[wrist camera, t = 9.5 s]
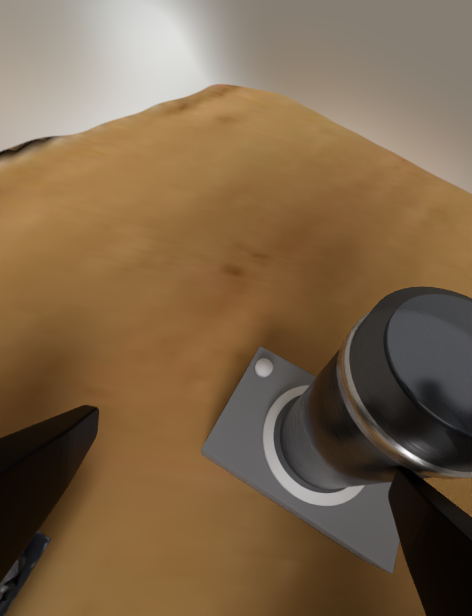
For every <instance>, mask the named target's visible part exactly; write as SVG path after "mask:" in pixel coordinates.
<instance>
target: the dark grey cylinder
mask: <svg viewBox="0 0 472 616" xmlns="http://www.w3.org/2000/svg"><path fill="white" fill-rule="evenodd" d="M280 445H281V450H282V453H283V456H284V458H285V460H286V462H287V464H288V466H289V467H290V468H291V470H292V471H293V472H294V473H295V474H296V476H298V477H299V478H300V479H301V480H302V481H304V482H305V483H307V484H309V485H311V486H313V487H316V488H320V489H337V488H345V487H354V486H363V485H371V484H380V483H388V482H392V481H393V478H394V475H395V473H396V471H397V470H399V469H402V470H407V471H411V472H414V473H415V474H417V475H418V476H419V477H420V478H422V479H423V478H431V477H435V478H441V479H462V478H472V298H469V297H467V296H465V295H462V294H459V293H456V292H453V291H449V290H445V289H440V288H434V287H411V288H405V289H401V290H398V291H395V292H393V293H391V294H389V295H387V296H386V297H384V298H383V299H382V300H380V302H379V303H378V304H377V305H376V306H375V307H374V308H373V309H372V311H371V312H369V313H368V314H366V315H365V316H364V317H362V318H361V319H360V320H359V321H358V323H357V324H356V325H355V326H354V327H353V329H352V330H351V331H350V332H349V334H348V335H347V336H346V338H345V339H344V341H343V343H342V345H341V347H340V349H339V350H338V352H337V353H336V354H335V355H334V356H333V358H332V359H331V360H330V361H329V363H328V364H327V365H326V366H325V367H324V369H323V370H322V371H321V372H320V373H319V375H318V376H317V377H316V378H315V379H314V381H313V382H312V383H311V384H310V385H309V387H308V388H307V389H306V390H305V392H304V393H303V394H302V395H301V396H300V398H299V399H298V400H297V401H296V402H295V404H294V405H293V406H292V407H291V408H290V410H289V411H288V412H287V414H286V415H285V417H284V419H283V421H282V424H281V428H280Z"/></svg>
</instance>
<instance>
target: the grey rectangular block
mask: <svg viewBox="0 0 472 616" xmlns="http://www.w3.org/2000/svg"><path fill="white" fill-rule="evenodd" d="M315 378H316V376H314V375H312V374H311V373H309V372H307V371H305V370H303V369H301V368H300V367H298V366H296V365H294V364H292V363H290V362H288V361H287V360H285V359H283V358H281V357H279V356H277V355H276V354H274V353H272V352H270V351H268V350H266V349H265V348H263V347H261V346H260V347H259V349H258V351H257V353H256V354H255V356H254V358H253V359H252V361H251V363H250V365H249V366H248V368H247V370H246V372H245V373H244V375H243V377H242V379H241V380H240V382H239V384H238V386H237V387H236V389H235V391H234V393H233V394H232V396H231V398H230V400H229V401H228V403H227V405H226V407H225V408H224V410H223V412H222V414H221V415H220V417H219V419H218V421H217V422H216V424H215V426H214V428H213V429H212V431H211V433H210V435H209V436H208V438H207V440H206V442H205V443H204V445H203V447H202V449H201V451H202V455H203V456H205V457H206V458H208V459H209V460H211V461H213V462H214V463H216V464H217V465H219V466H220V467H222V468H223V469H225V470H226V471H228V472H229V473H231V474H232V475H234V476H235V477H237V478H238V479H240V480H242V481H243V482H245V483H246V484H248V485H249V486H251V487H252V488H254V489H255V490H257V491H258V492H260V493H261V494H263V495H264V496H266V497H267V498H269V499H271V500H272V501H274V502H275V503H277V504H278V505H280V506H281V507H283V508H284V509H286V510H287V511H289V512H290V513H292V514H293V515H295V516H296V517H298V518H300V519H301V520H303V521H304V522H306V523H307V524H309V525H310V526H312V527H313V528H315V529H316V530H318V531H319V532H321V533H322V534H324V535H325V536H327V537H329V538H330V539H332V540H333V541H335V542H336V543H338V544H339V545H341V546H342V547H344V548H345V549H347V550H348V551H350V552H351V553H353V554H354V555H356V556H358V557H359V558H361V559H362V560H364V561H366V562H368V563H370V564H372V565H374V566H376V567H379V568H381V569H383V570H385V571H387V572H389V573H391V574H393V570H394V565H395V560H396V555H397V550H398V545H399V540H400V539H399V536H398V532H397V529H396V525H395V521H394V518H393V514H392V511H391V507H390V504H389V500H388V491H389V488H390V486H391V483H392V482H388V483H380V484H371V485H363V486H354V487H345V488H337V489H320V488H316V487H313V486H311V485H309V484H307V483H305V482H304V481H302V480H301V479H300V478H299V477H298V476H296V474H295V473H294V472H293V471H292V470H291V468H290V467H289V466H288V464H287V462H286V460H285V458H284V456H283V453H282V450H281V445H280V428H281V424H282V421H283V419H284V417H285V415H286V414H287V412H288V411H289V410H290V408H291V407H292V406H293V405H294V404H295V402H296V401H297V400H298V399H299V398H300V396H301V395H302V394H303V393H304V392H305V390H306V389H307V388H308V387H309V385H310V384H311V383H312V382H313V381H314V379H315Z"/></svg>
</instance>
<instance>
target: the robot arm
mask: <svg viewBox="0 0 472 616" xmlns="http://www.w3.org/2000/svg"><path fill="white" fill-rule="evenodd" d="M98 418H99V409H98V408H97V407H94V406H89V405H83V406H80V407H78V408H75V409H73V410H70V411H68V412H65V413H63V414H60V415H58V416H55V417H53V418H50V419H47V420H45V421H42V422H40V423H37V424H35V425H32V426H30V427H27V428H25V429H22V430H20V431H17V432H15V433H12V434H10V435H7V436H5V437H2V438H0V583H1V582H2V580H3V579H4V578H5V576H6V575H7V573H8V572H9V570H10V569H11V568H12V566H13V565H14V563H15V562H16V560H17V559H18V558H19V556H20V555H21V553H22V552H23V550H24V549H25V548H26V546H27V545H28V543H29V542H30V541H31V539H32V538H33V536H34V535H35V533H36V532H37V531H38V529H39V528H40V526H41V525H42V523H43V522H44V521H45V519H46V518H47V516H48V515H49V513H50V512H51V511H52V509H53V508H54V506H55V505H56V503H57V502H58V501H59V499H60V498H61V496H62V495H63V493H64V492H65V490H66V489H67V487H68V485H69V484H70V482H71V480H72V479H73V477H74V475H75V473H76V472H77V470H78V468H79V466H80V464H81V463H82V461H83V459H84V457H85V456H86V454H87V452H88V450H89V449H90V447H91V445H92V443H93V442H94V440H95V438H96V435H97V430H98ZM388 500H389V504H390V507H391V511H392V514H393V518H394V521H395V525H396V529H397V532H398V536H399V539H400V543H401V546H402V550H403V553H404V556H405V559H406V562H407V565H408V568H409V571H410V573H411V576H412V579H413V581H414V584H415V587H416V589H417V592H418V595H419V597H420V600H421V603H422V605H423V608H424V610H425V613H426V616H472V517H471V516H469V515H468V514H467V513H465V512H464V511H463V510H462V509H460V508H459V507H458V506H456V505H455V504H454V503H453V502H451V501H450V500H449V499H447V498H446V497H445V496H444V495H442V494H441V493H440V492H438V491H437V490H436V489H435V488H433V487H432V486H431V485H429V484H428V483H427V482H426V481H424V480H423V479H422V478H420V477H419V476H418V475H417V474H415V473H414V472H411V471H407V470H402V469H399V470H397V471H396V473H395V475H394V478H393V481H392V483H391V486H390V488H389V491H388Z"/></svg>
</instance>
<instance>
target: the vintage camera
mask: <svg viewBox="0 0 472 616" xmlns="http://www.w3.org/2000/svg"><path fill="white" fill-rule="evenodd" d="M50 539H51V538H49V537H48V536H46V535H44V534H43V533H41V532H39V531H37V532H36V533H35V535H34V536H33V538H32V539H31V541H30V542H29V543H28V545H27V546H26V548H25V549H24V550H23V552H22V553H21V555H20V556H19V558H18V559H17V560H16V562H15V563H14V565H13V566H12V568H11V569H10V570H9V572H8V573H7V575H6V576H5V578H4V579H3V580H2V582H1V583H0V616H4V615H5V614H6V612H7V610H8V609H9V607H10V606H11V604H12V602H13V601H14V599H15V597H16V596H17V594H18V593H19V591H20V589H21V588H22V586H23V584H24V583H25V581H26V579H27V578H28V576H29V575H30V573H31V571H32V570H33V568H34V566H35V565H36V563H37V562H38V560H39V558H40V557H41V555H42V553H43V552H44V550H45V549H46V547H47V545H48V544H49V542H50Z"/></svg>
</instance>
